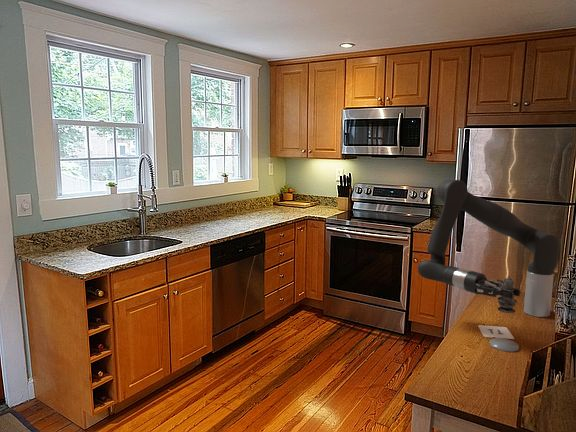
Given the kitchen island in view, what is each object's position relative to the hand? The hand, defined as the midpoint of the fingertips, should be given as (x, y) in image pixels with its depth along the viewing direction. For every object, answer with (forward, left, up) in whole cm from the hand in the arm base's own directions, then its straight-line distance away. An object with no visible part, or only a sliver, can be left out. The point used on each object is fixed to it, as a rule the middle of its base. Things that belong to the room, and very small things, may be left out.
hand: (516, 294), depth 142 cm
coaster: (-2, -2, -19) cm, 19 cm away
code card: (-13, -2, -19) cm, 23 cm away
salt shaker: (-2, -2, -6) cm, 7 cm away
